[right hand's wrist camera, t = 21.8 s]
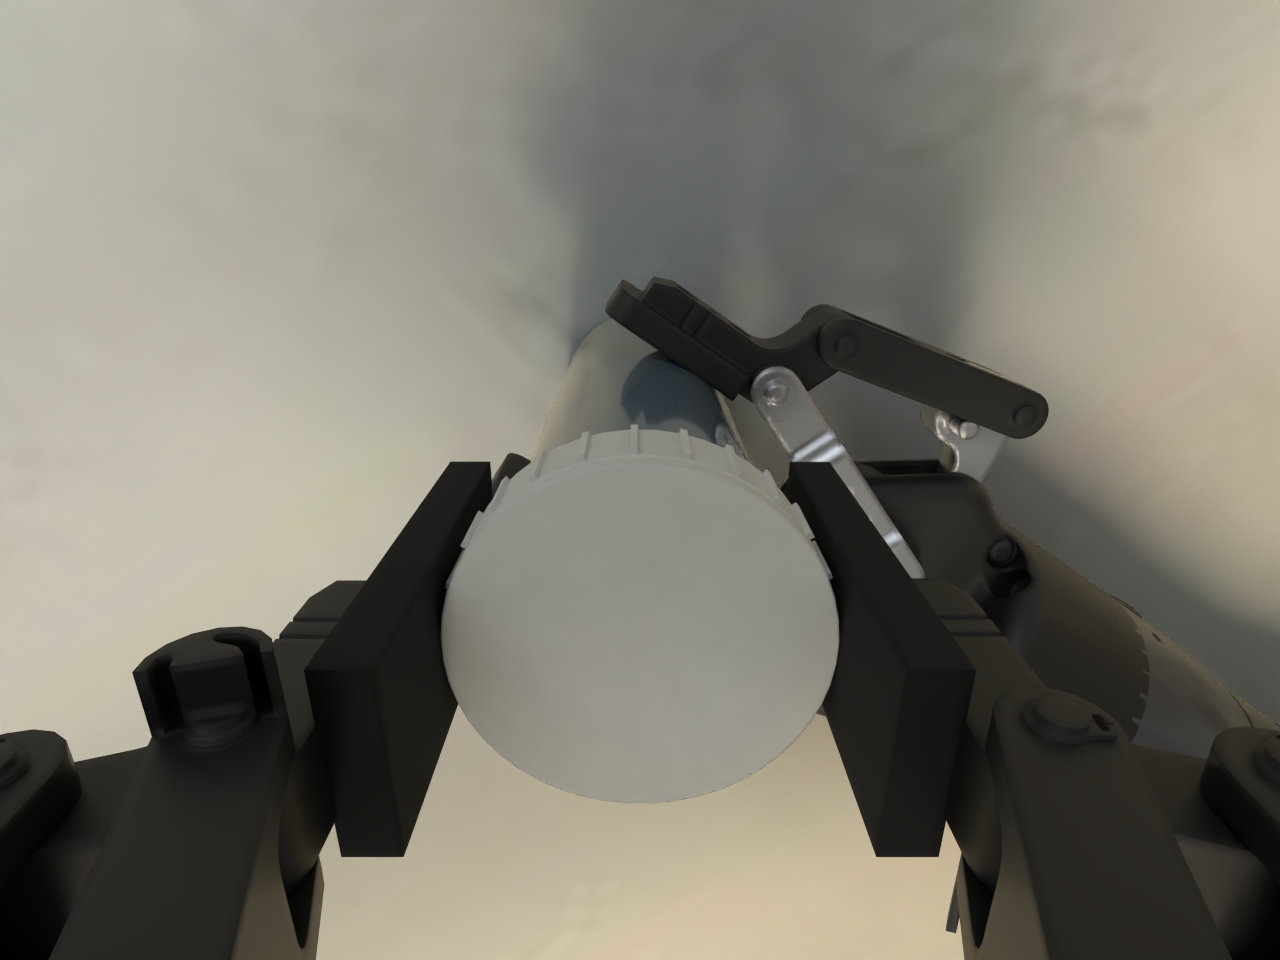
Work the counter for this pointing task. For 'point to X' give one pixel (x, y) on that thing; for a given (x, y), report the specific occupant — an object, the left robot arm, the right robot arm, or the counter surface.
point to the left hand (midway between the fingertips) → (555, 390)
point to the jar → (633, 394)
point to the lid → (640, 618)
